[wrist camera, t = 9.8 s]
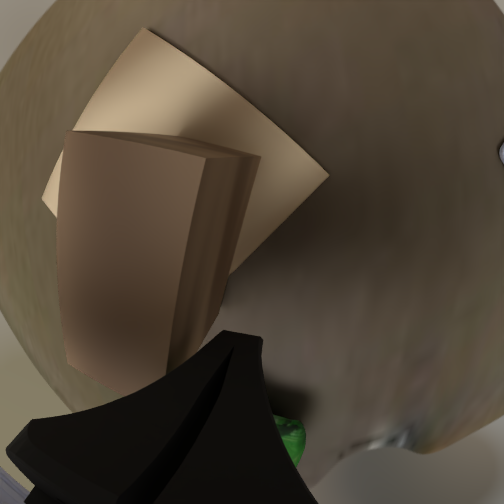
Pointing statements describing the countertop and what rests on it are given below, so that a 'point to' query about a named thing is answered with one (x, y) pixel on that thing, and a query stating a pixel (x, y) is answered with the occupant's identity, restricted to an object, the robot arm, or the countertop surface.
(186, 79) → the plate
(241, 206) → the slab
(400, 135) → the countertop surface
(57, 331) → the countertop surface
